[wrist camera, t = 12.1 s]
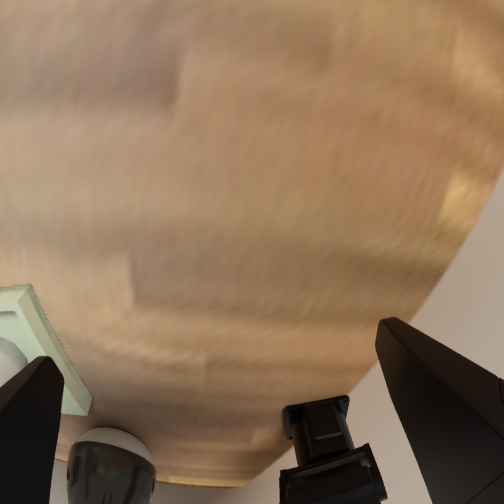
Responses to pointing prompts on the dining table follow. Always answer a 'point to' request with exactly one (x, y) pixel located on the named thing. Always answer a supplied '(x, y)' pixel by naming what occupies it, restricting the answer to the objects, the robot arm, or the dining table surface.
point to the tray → (40, 342)
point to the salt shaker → (10, 360)
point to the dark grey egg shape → (109, 469)
